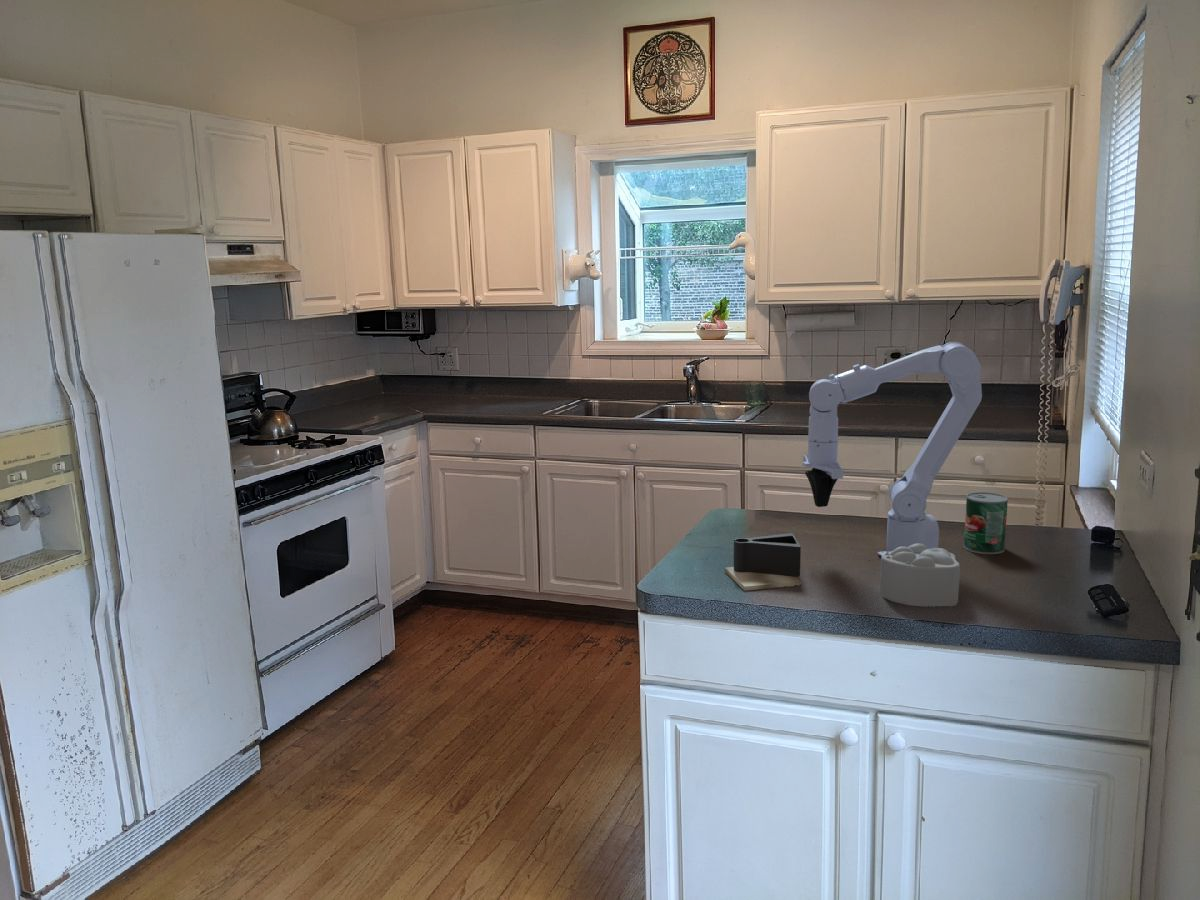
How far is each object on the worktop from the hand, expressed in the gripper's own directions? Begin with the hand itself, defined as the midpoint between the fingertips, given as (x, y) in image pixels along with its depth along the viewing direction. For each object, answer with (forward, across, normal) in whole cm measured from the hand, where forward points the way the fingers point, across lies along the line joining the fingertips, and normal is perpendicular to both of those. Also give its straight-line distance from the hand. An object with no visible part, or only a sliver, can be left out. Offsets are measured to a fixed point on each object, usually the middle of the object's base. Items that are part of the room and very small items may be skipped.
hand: (821, 505), depth 189 cm
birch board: (+10, +10, -16) cm, 22 cm away
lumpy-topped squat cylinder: (+11, +26, +7) cm, 29 cm away
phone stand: (+7, +9, -9) cm, 14 cm away
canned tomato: (+11, +5, +34) cm, 36 cm away
